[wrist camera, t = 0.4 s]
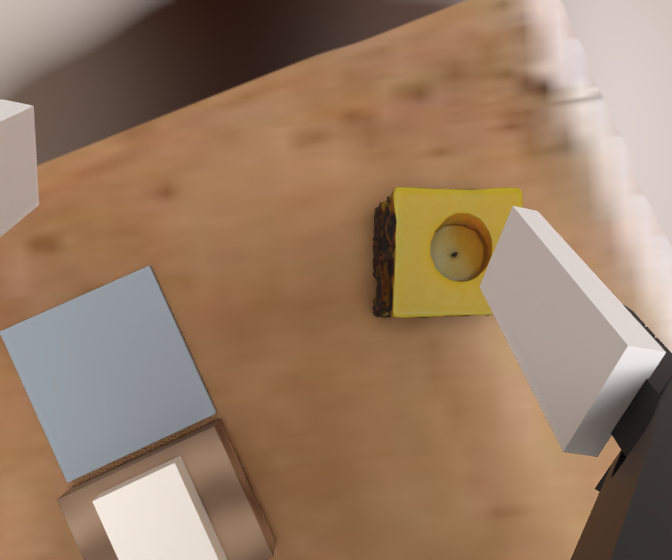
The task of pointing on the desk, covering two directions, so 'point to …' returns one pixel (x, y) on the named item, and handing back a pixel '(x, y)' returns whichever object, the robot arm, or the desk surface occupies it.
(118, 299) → the mat
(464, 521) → the desk surface
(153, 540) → the tile
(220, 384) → the desk surface
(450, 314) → the candle
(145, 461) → the deck
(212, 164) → the desk surface
